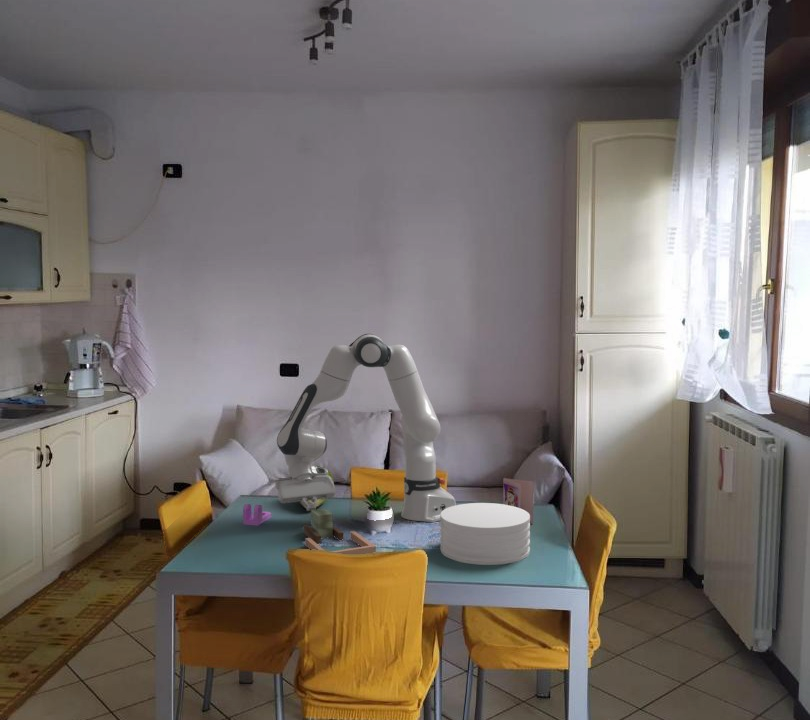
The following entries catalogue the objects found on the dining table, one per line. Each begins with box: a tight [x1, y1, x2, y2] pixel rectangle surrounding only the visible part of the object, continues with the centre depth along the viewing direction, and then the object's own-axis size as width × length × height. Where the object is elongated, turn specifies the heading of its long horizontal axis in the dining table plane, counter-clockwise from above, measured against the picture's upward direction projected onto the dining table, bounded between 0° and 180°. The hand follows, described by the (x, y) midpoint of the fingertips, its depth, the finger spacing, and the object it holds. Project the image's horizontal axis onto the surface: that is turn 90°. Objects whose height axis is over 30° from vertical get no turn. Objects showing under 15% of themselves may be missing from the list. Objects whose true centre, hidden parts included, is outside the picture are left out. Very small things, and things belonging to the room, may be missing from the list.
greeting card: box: [502, 477, 534, 525], centre depth 278 cm, size 11×7×15 cm, turn 23°
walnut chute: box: [302, 524, 345, 545], centre depth 264 cm, size 9×14×2 cm, turn 26°
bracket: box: [242, 503, 272, 527], centre depth 284 cm, size 13×6×7 cm, turn 165°
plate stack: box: [439, 502, 531, 566], centre depth 249 cm, size 28×28×12 cm
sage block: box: [310, 508, 334, 539], centre depth 264 cm, size 5×7×8 cm
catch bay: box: [304, 530, 377, 554], centre depth 250 cm, size 17×18×2 cm
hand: (311, 509), depth 273 cm, fingers closed
